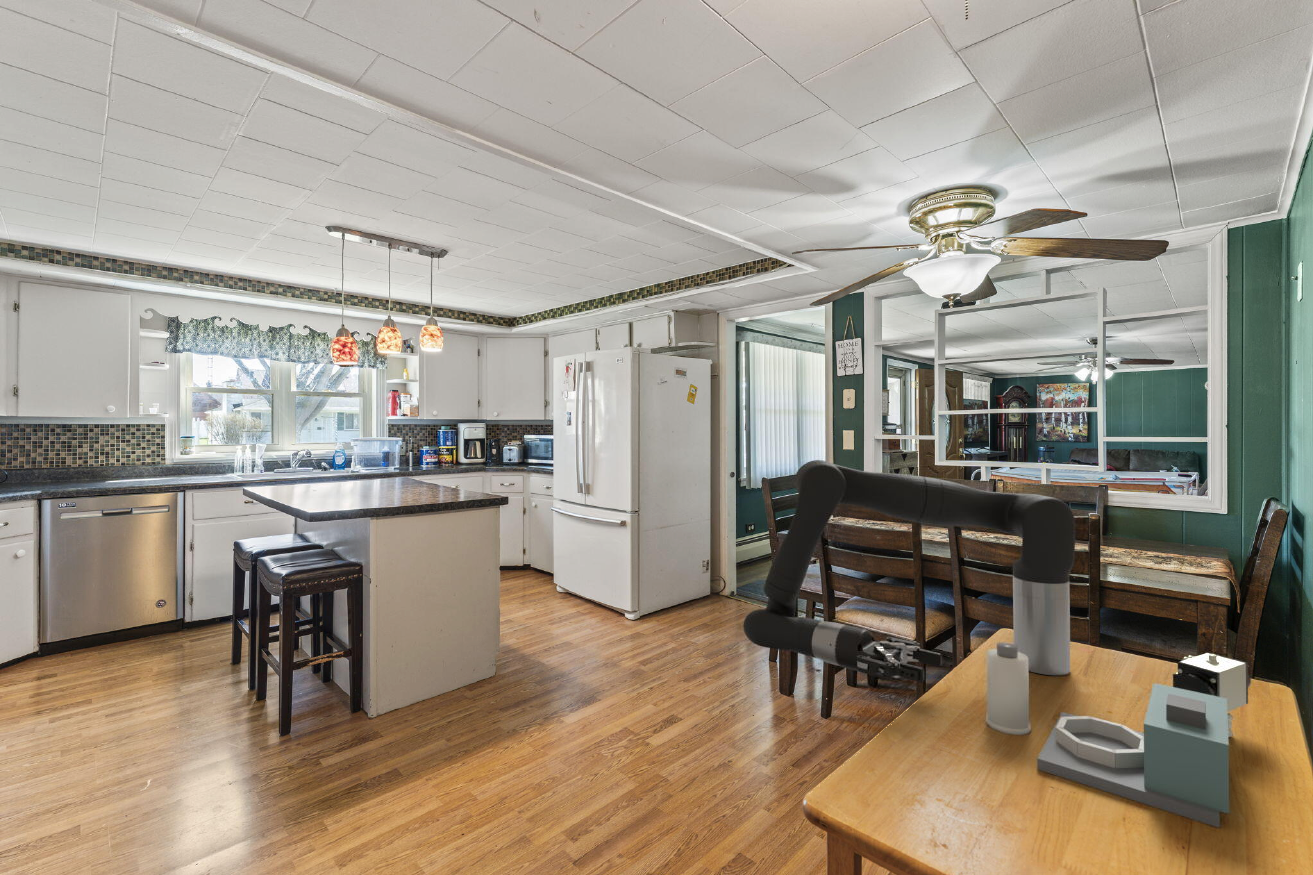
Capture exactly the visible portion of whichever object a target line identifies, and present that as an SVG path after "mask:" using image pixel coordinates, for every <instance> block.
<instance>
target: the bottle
mask: <svg viewBox="0 0 1313 875" xmlns="http://www.w3.org/2000/svg"><path fill="white" fill-rule="evenodd" d="M1029 681H1030V680H1029V671H1028V657H1027V656H1026V655H1024V654H1022V653H1020V652H1018V647H1017V646H1016V645H1014V643H1009V642H997V643H996V648H991V649H990V648H989V649H988V650H987V651H986V696H987V697H986V703H987V704H986V706H987V707H986V708H987V710H986V711H987V712H986V715H985V723H986V724H987V725H988V726H989V727H990V728H991V729H993V730H995V731H997V732H1000V733H1003V734H1006V735H1007V734H1008V735H1012V736H1023V735H1024V736H1025V735H1028V734H1030V732H1031V730H1032V728H1031V723H1030V699H1029V697H1030V696H1029V695H1030V694H1029V692H1030V691H1029V687H1030V686H1029V685H1030V684H1029Z"/></svg>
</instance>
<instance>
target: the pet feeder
mask: <svg viewBox="0 0 1313 875" xmlns="http://www.w3.org/2000/svg"><path fill="white" fill-rule="evenodd" d="M1149 697H1150V698H1149V700H1148V705H1147V708H1146V713H1145V716H1144V720H1143V732H1141V731H1137V730H1134V729H1131V728H1129V727H1128V726H1126V725H1124V724H1120V723H1117V722H1113V721H1109V720H1105V719H1103V718H1098V717H1095V716H1089V715H1083V716H1082V715H1080V716H1079V715H1076V714H1071V713H1069V712H1064V711H1061V712H1060V715H1059V717H1058V719H1057V721H1056V722H1055V725H1054V727H1053V728H1052V730H1051V732H1050V734H1049V736H1048V738H1047V739H1046V741H1045V743H1044V745H1043V747H1042V749H1041V751H1040V752H1039V754H1038V757H1037V758H1036V759H1037V760H1036V761H1037V762H1036V763H1037V764H1036V766H1037V770H1039V771H1041V772H1045V773H1048V774H1052V775H1053V776H1056V777H1060V778H1064V779H1066V780H1068V781H1073V782H1075V783H1078V784H1082V785H1085V786H1088V787H1092V788H1095V789H1096V790H1097V789H1098V790H1099V791H1103V792H1107V793H1109V794H1113V795H1116V796H1120V797H1122V798H1125V799H1128V800H1132V801H1134V802H1137V803H1140V804H1144V805H1147V806H1150V807H1153V808H1156V809H1159V810H1163V811H1166V812H1168V813H1171V814H1175V815H1178V816H1182V817H1184V818H1188V819H1191V820H1193V821H1196V822H1199V823H1203V824H1206V825H1209V826H1213V827H1216V828H1218V829H1220V828H1221V824H1220V823H1221V819H1220V818H1221V816H1220V815H1221V812H1222V813H1225V814H1228V815H1230V771H1229V770H1230V765H1229V764H1230V763H1229V762H1230V761H1229V760H1230V755H1229V754H1230V750H1229V749H1230V748H1229V744H1230V743H1229V738H1228V717H1227V713H1228V712H1227V698H1222V697H1217V696H1213V695H1208V694H1203V693H1198V692H1194V691H1189V690H1184V689H1180V688H1175V687H1173V686H1170V685H1165V684H1159V683H1156V682H1154V683H1153V684H1152V688H1151V692H1150V696H1149Z"/></svg>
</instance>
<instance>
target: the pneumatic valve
mask: <svg viewBox="0 0 1313 875" xmlns="http://www.w3.org/2000/svg"><path fill="white" fill-rule="evenodd" d="M1251 682H1252V680H1251V676H1250V673H1249V663H1248V662H1247V661H1243V660H1239V659H1236V658H1231V657H1228V656H1224V655H1220V654H1215V653H1212V652H1206V653H1204V654H1199V655H1197V656H1193V655H1188V656H1184V657H1183V658H1182V660H1181V661H1178V662H1177V672H1176V673H1173V674H1172V687H1175V688H1180V689H1184V690H1189V691H1194V692H1198V693H1203V694H1208V695H1213V696H1217V697H1222V698H1227V717H1228V739H1229V738H1231V737H1234V732H1233V731H1232V728H1233V722H1232V720H1234V716H1233V714H1231V713H1230V712H1231V711H1233V710H1236V709H1238V708H1241V707H1244V706H1246V705H1248V704H1249V688H1250V687H1251V684H1252V683H1251Z"/></svg>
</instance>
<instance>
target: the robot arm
mask: <svg viewBox="0 0 1313 875" xmlns="http://www.w3.org/2000/svg"><path fill="white" fill-rule="evenodd" d="M794 486H795V489H796V491H797V493H798V498H797V502H796V507H795V513H794V515H793V518H792V521H791V523H790V526H789V528H788V531H787V533H786V534H785V536H784V539H783V540H782V541H781V544H780V546H779V547H778V550H777V552H776V553H775V556H774V558H773V560H772V562H771V566H770V568H769V571H768V573H767V576H766V579H765V582H764V585H763V593H764V595H765V596H766V597H767V598H768V599H767V604H766V607H765V608H761V609H760V608H759V609H756V610H752V611H751V612H749V613H748V614H747V615H746V617H745V618H744V620H743V627H742V628H743V632H744V634H745V636H746V638H747V639H748V640H749V641H750V642H751V643H753V644H754V645H756V646H759V647H761V648H765V649H774V650H781V651H789V652H794V653H797V654H801V655H803V656H807V657H811V658H814V659H818V660H821V661H822V662H825V663H828V664H831V665H834V666H837V667H838V666H839V667H842V668H846V669H849V670H853V671H856V672H859V673H862V674H866V675H869V676H872V677H876V678H879V679H882V680H886V681H891V680H892V678H895V679H898V678H904V679H906V680H910V681H914V682H917V683H923V682H924V681H925V669H924V668H923V667H920V666H916V665H912V664H910V663H908V662H915V663H916V662H918V663H920V664H921V663H922V664H924V665H929V666H933V667H937V668H940V667H941V666H942V665H943V655H942V654H941V653H939V652H935V651H931V650H927V649H923V648H921V642H920V643H919V642H916V641H911V640H907V639H902V638H896V637H893V636H892V637H891V636H887V637H886V638H885V639H886V640H880V641H876V639H875V638H874V637H873V634H872V632H871V631H870V630H868V629H865V628H862V627H861V628H860V627H857V626H853V625H847V624H843V623H840V622H839V623H838V622H834V621H833V622H832V621H823V620H820V619H819V620H818V619H814V618H810V617H803V616H795V615H796V610H797V599H798V596H799V594H800V591H801V589H802V586H803V583H804V580H805V578H806V575H807V572H808V569H809V567H810V563H811V562H812V558H813V556H814V553H815V550H816V548H817V546H818V543H819V541H820V538H821V537H822V534H823V532H824V531H825V529H826V527H827V525H828V522H829V521H830V519H831V517H832V515H833V514H834V513H835V511H836V509H837V507H838V505H849V506H850V505H851V506H856V507H862V508H866V509H869V510H872V511H875V512H878V513H880V514H884V515H887V516H890V517H893V518H897V519H901V520H904V521H908V522H912V523H918V524H925V525H931V526H938V527H939V526H940V527H941V526H942V527H981V528H985V529H986V528H987V529H990V530H993V531H994V530H995V531H1000V532H1002V533H1006V534H1009V535H1013V536H1016V537H1018V538H1021V540H1022V542H1021V543H1022V544H1021V555H1020V557H1018V559H1015V560H1014V561H1013V564H1012V600H1013V601H1012V602H1013V603H1012V605H1013V608H1012V612H1013V616H1012V617H1013V626H1012V627H1013V644H1014V645H1016V646H1017V647H1018V652H1020V653H1022V654H1024V655H1026V656H1027V657H1028V672H1031V673H1035V674H1041V675H1046V676H1047V675H1048V676H1065V675H1069V674H1070V672H1071V621H1070V620H1071V615H1070V614H1071V612H1070V607H1071V606H1070V605H1071V604H1070V603H1071V602H1070V599H1071V598H1070V575H1071V574H1070V573H1071V571H1072V569H1073V567H1074V564H1075V557H1076V556H1075V553H1076V551H1075V550H1076V520H1075V517H1074V513H1073V510H1072V508H1070V506H1069V505H1068V504H1067V503H1066V502H1064V501H1063V500H1061V499H1058V498H1057V497H1052V496H1046V495H1042V494H1036V493H1014V492H1012V493H1011V492H1000V491H999V492H996V491H987V490H982V489H979V488H974V487H971V486H968V485H965V484H963V483H961V484H960V483H958V482H953V481H949V480H945V479H939V478H934V477H933V478H932V477H929V476H928V477H927V476H921V475H920V476H919V475H911V474H901V473H891V472H890V473H889V472H872V471H863V470H858V469H855V468H850V467H846V466H842V465H838V464H835V463H831V462H829V461H826V460H822V459H816V460H815V459H814V460H811V461H807V462H806V463H804V464H802V465H801V466H800V467H799V469H797V471H796V474H795V477H794Z"/></svg>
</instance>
